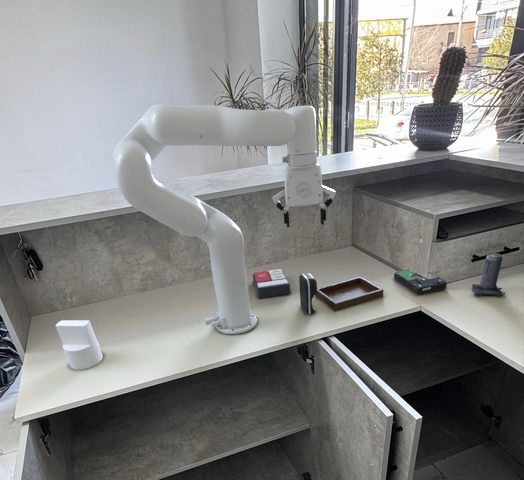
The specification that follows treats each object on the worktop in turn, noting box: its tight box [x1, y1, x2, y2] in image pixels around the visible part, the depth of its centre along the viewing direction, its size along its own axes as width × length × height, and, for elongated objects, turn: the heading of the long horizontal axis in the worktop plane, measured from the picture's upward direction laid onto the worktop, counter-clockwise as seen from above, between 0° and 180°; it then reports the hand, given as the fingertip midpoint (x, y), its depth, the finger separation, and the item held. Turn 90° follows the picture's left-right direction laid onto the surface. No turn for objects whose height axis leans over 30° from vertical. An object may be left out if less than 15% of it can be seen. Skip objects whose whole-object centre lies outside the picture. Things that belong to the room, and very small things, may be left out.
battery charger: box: [298, 272, 318, 315], centre depth 133 cm, size 7×4×11 cm, turn 14°
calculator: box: [252, 268, 291, 299], centre depth 152 cm, size 11×4×15 cm
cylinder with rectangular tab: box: [55, 319, 104, 370], centre depth 120 cm, size 9×9×12 cm
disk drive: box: [393, 268, 447, 296], centre depth 144 cm, size 10×3×15 cm
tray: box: [314, 276, 384, 312], centre depth 141 cm, size 18×13×3 cm
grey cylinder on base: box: [471, 252, 506, 297], centre depth 132 cm, size 9×8×12 cm
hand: (305, 224), depth 123 cm, fingers open, 9 cm apart
